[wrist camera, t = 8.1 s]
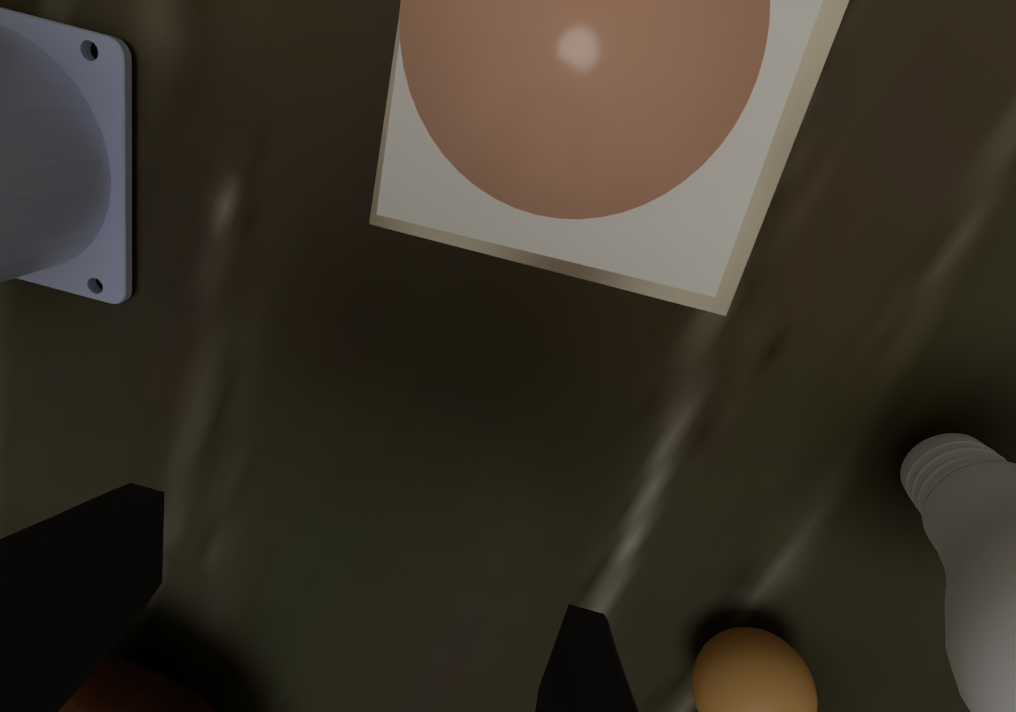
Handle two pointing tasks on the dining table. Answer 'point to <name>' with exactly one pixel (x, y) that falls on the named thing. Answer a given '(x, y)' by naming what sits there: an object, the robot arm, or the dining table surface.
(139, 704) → the butternut squash
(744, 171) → the cream slab
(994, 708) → the lightbulb
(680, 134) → the terracotta cylinder
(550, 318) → the dining table surface
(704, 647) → the figurine
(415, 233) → the birch slab
